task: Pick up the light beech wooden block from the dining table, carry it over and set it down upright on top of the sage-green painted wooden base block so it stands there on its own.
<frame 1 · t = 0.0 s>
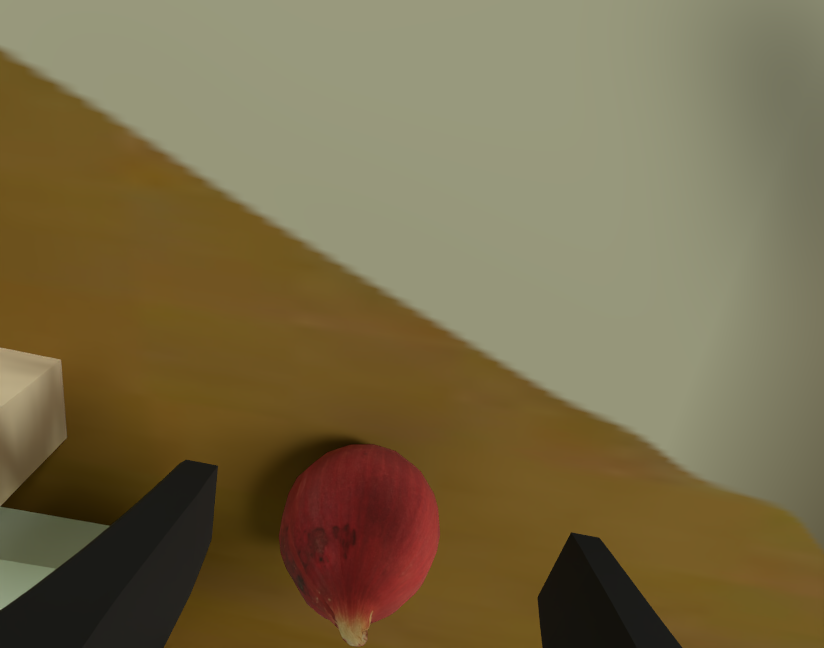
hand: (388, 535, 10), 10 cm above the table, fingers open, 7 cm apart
beech block: (14, 390, 21), on the table
stacking block: (44, 574, 27), on the table
onion: (370, 455, 23), on the table
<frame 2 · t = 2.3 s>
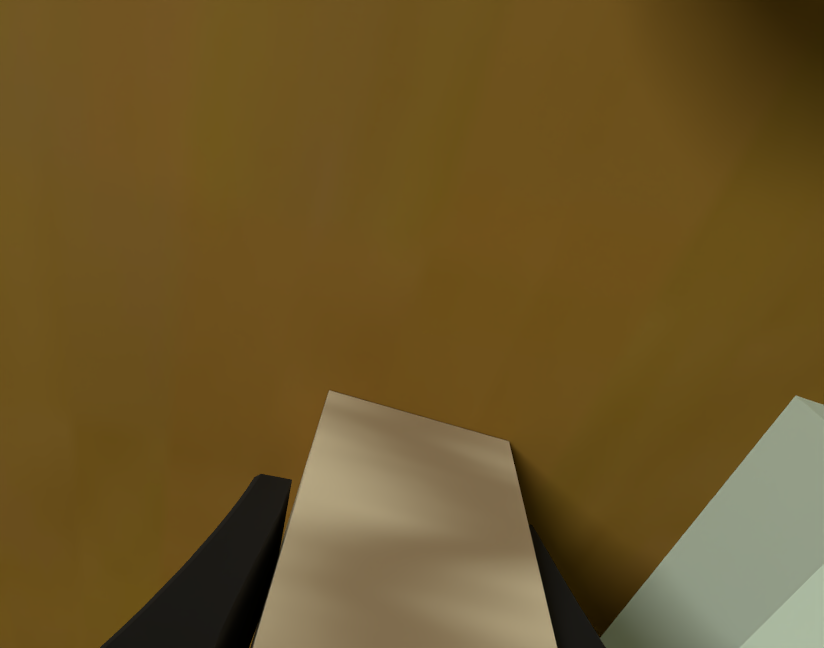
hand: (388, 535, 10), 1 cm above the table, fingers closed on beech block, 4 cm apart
beech block: (392, 484, 12), on the table, touching gripper
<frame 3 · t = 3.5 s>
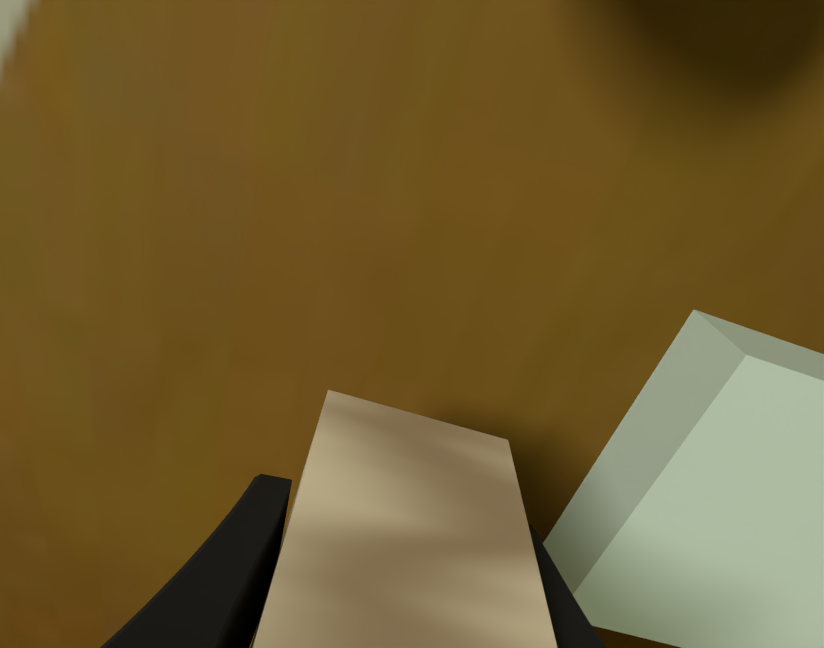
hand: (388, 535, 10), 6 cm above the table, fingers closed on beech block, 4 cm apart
beech block: (392, 483, 12), point 4 cm above the table, touching gripper
stacking block: (734, 475, 17), on the table
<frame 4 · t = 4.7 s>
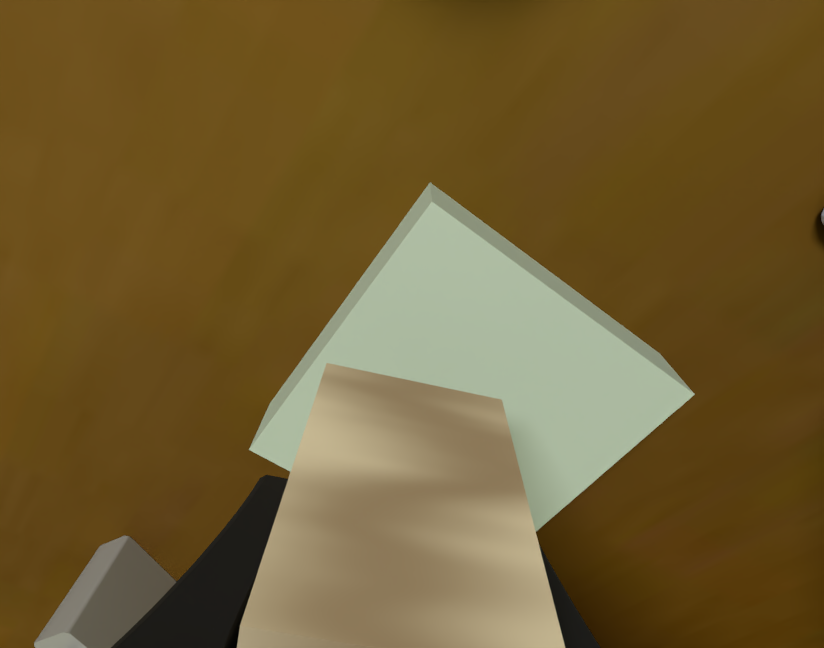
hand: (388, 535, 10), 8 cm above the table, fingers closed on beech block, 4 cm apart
beech block: (396, 451, 12), point 6 cm above the table, touching gripper
stacking block: (457, 373, 19), on the table
lighter: (166, 586, 24), on the table
when the fingers open (5 cm above the table, at t = 6.1 s): beech block stays where it is, resting on stacking block.
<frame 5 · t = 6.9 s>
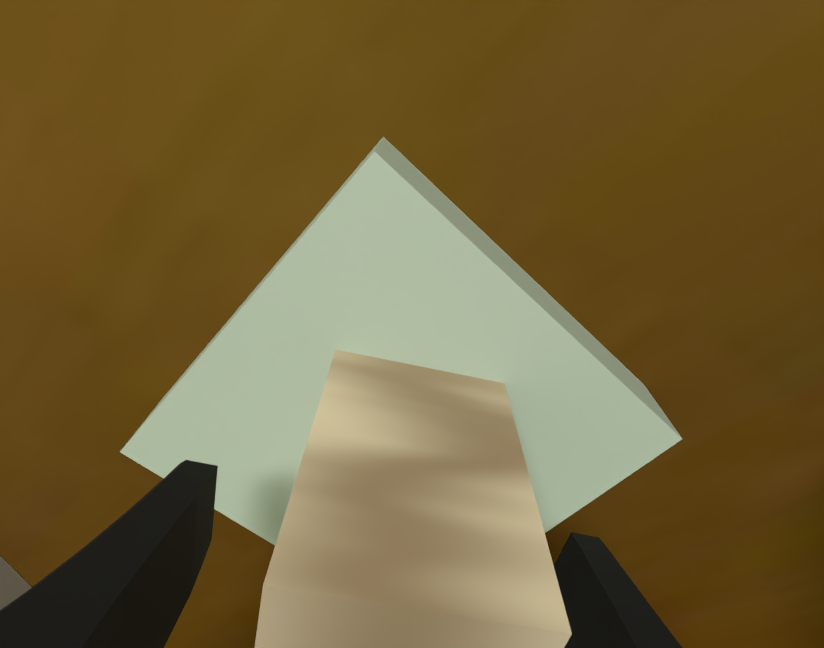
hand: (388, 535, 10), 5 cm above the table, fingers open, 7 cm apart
beech block: (402, 434, 13), point 2 cm above the table, touching stacking block
stacking block: (400, 381, 16), on the table, touching beech block
lighter: (29, 600, 20), on the table
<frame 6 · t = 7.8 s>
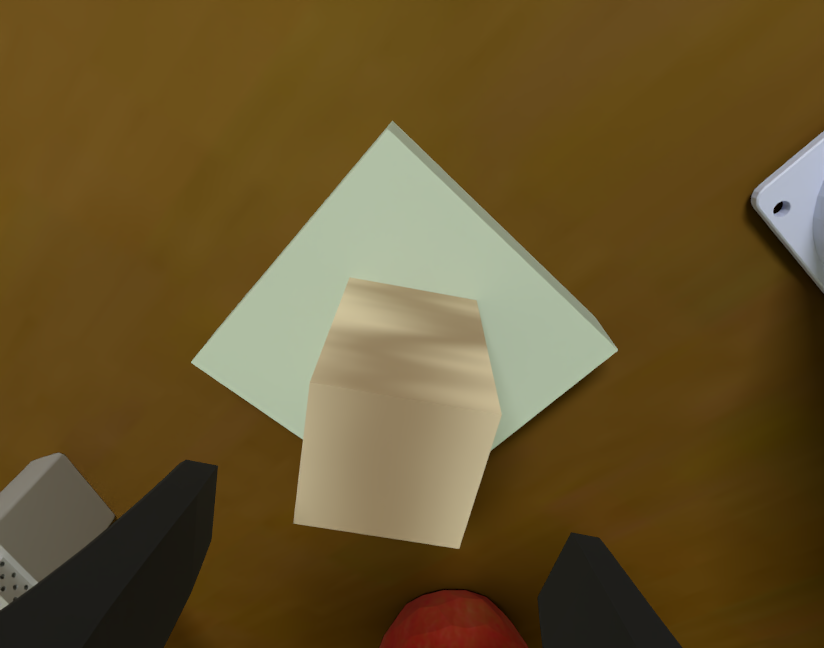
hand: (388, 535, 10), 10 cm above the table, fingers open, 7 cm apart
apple: (449, 614, 27), on the table
beech block: (402, 344, 17), point 2 cm above the table, touching stacking block
stacking block: (404, 317, 20), on the table, touching beech block
lighter: (96, 510, 24), on the table
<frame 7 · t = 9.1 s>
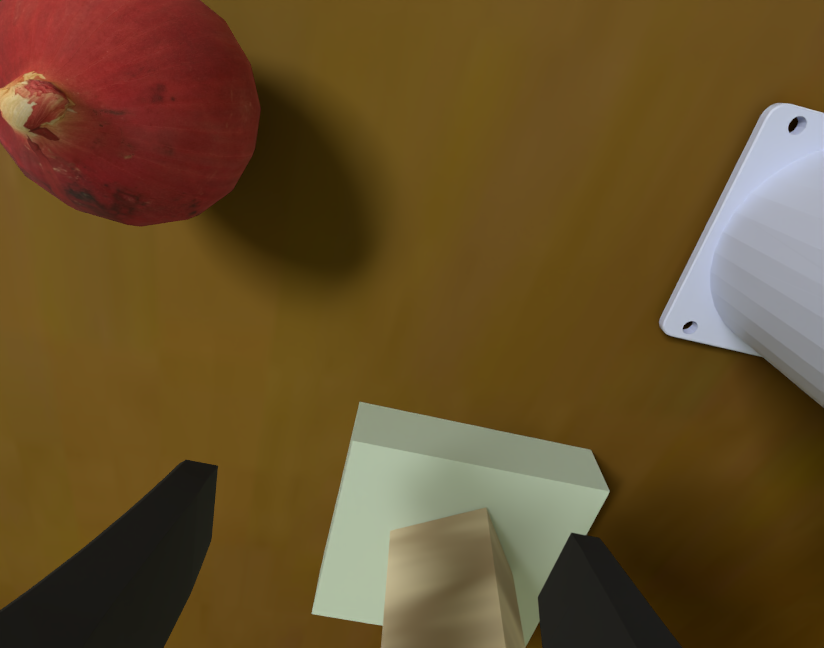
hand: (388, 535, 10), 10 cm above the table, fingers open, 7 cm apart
beech block: (452, 553, 21), point 2 cm above the table
stacking block: (445, 503, 24), on the table
onion: (198, 97, 16), on the table
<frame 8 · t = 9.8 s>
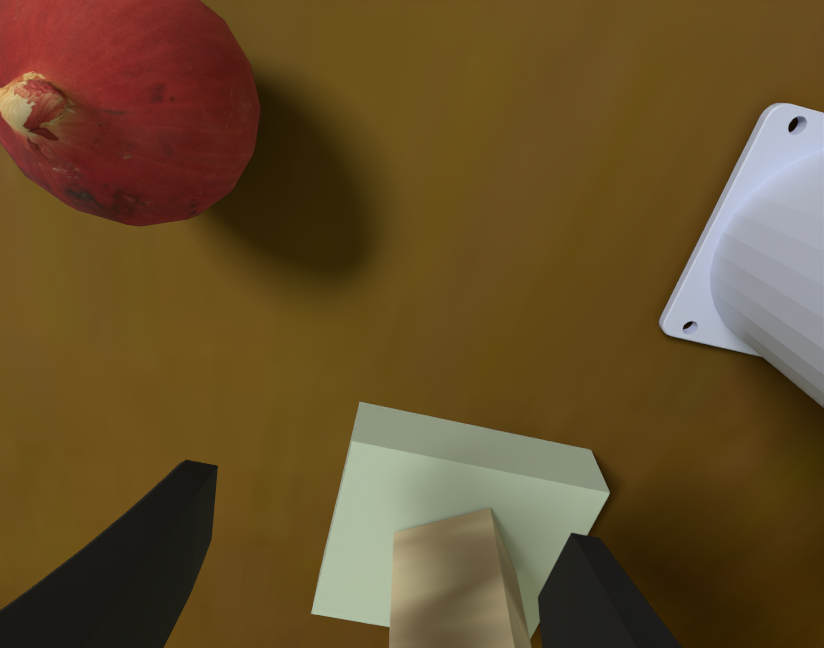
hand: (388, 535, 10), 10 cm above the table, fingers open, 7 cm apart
beech block: (456, 553, 21), point 2 cm above the table
stacking block: (445, 503, 24), on the table
onion: (198, 97, 16), on the table
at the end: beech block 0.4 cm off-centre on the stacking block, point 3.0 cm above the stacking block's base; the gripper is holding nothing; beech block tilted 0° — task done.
